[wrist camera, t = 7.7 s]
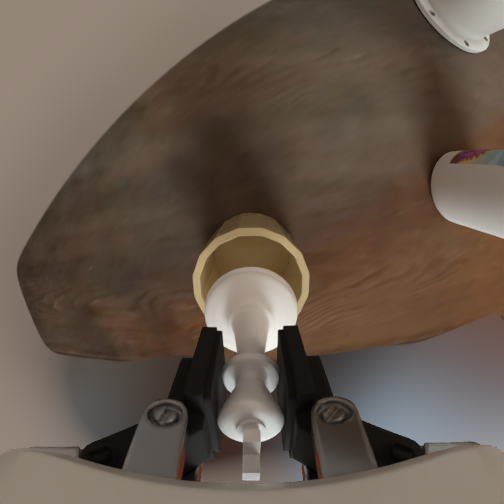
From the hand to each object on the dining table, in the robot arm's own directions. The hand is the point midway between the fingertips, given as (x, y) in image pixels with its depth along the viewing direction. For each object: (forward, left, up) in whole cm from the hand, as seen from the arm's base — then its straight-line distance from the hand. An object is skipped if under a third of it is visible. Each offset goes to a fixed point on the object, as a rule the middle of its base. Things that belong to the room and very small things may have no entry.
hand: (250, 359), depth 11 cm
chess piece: (0, 0, -5) cm, 5 cm away
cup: (0, 0, -16) cm, 16 cm away
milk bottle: (-7, +22, -16) cm, 28 cm away
